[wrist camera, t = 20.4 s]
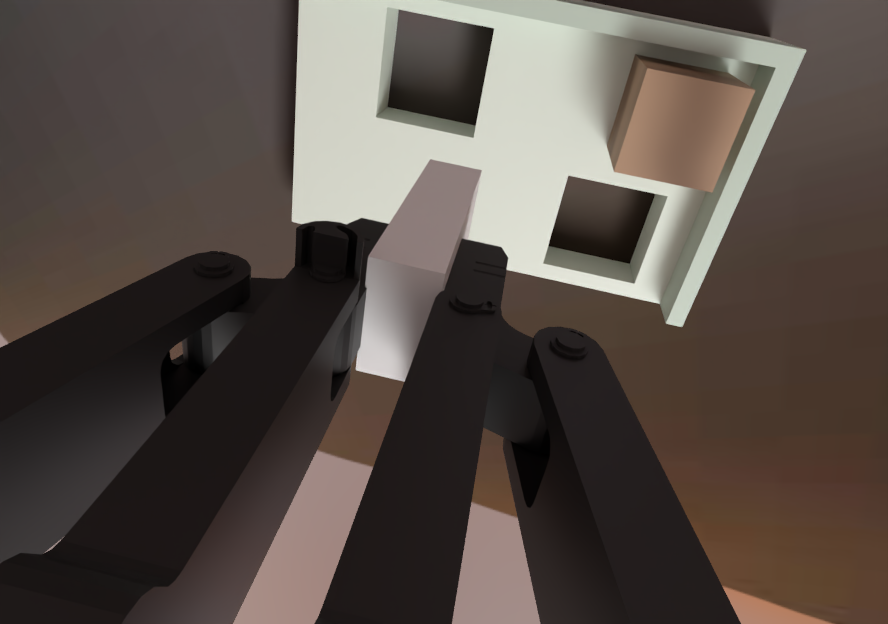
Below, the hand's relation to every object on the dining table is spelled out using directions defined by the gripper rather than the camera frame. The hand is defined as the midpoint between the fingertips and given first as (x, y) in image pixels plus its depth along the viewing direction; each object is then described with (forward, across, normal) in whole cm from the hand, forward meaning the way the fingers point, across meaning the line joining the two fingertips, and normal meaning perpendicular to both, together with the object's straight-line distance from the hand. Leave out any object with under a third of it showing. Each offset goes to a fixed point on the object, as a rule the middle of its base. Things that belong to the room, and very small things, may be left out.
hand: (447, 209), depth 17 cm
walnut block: (+19, +9, +1) cm, 21 cm away
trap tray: (+22, +1, -4) cm, 23 cm away
